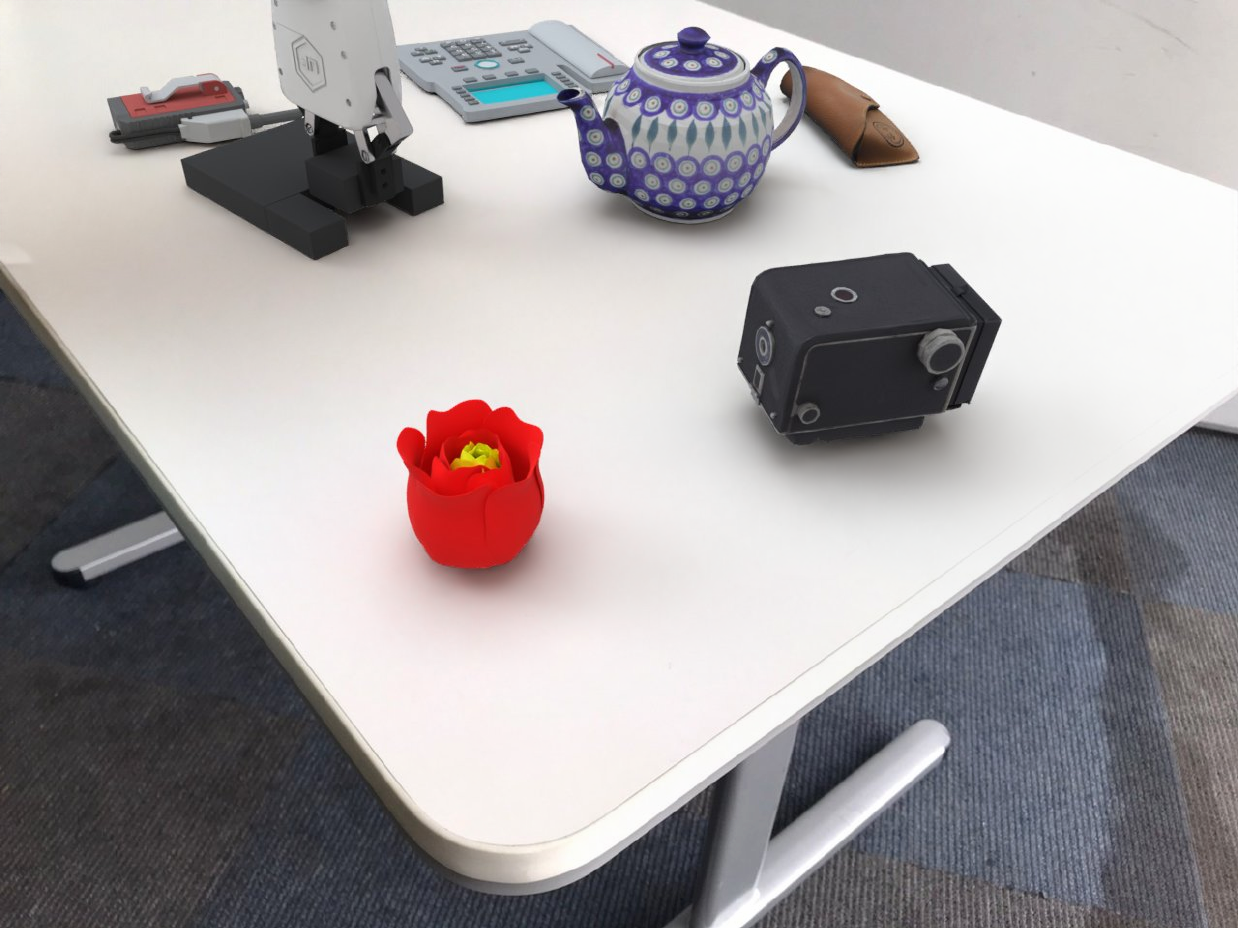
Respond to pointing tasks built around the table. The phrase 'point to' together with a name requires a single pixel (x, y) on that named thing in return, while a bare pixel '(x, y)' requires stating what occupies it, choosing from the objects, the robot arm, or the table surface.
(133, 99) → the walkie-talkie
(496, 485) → the flower
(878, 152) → the sunglasses case
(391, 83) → the robot arm
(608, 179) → the teapot
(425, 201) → the big pad
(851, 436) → the camera
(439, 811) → the table surface
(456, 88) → the office telephone
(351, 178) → the small pad
